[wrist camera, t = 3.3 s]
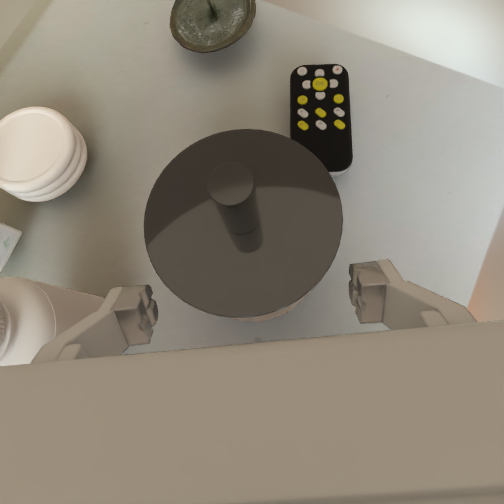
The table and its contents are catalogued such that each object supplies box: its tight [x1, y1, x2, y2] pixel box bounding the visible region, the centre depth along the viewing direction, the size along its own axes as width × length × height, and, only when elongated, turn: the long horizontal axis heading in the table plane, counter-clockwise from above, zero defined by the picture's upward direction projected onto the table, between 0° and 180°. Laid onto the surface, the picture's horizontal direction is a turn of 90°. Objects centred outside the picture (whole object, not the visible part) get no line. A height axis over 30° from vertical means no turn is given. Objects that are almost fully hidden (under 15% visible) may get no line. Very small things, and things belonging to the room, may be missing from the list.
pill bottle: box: [0, 277, 105, 366], centre depth 26 cm, size 8×8×15 cm
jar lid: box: [144, 129, 343, 318], centre depth 22 cm, size 14×14×6 cm
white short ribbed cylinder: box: [0, 106, 87, 202], centre depth 37 cm, size 10×10×4 cm
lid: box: [170, 0, 256, 53], centre depth 40 cm, size 11×10×5 cm
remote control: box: [290, 64, 353, 176], centre depth 36 cm, size 6×13×2 cm, turn 178°
